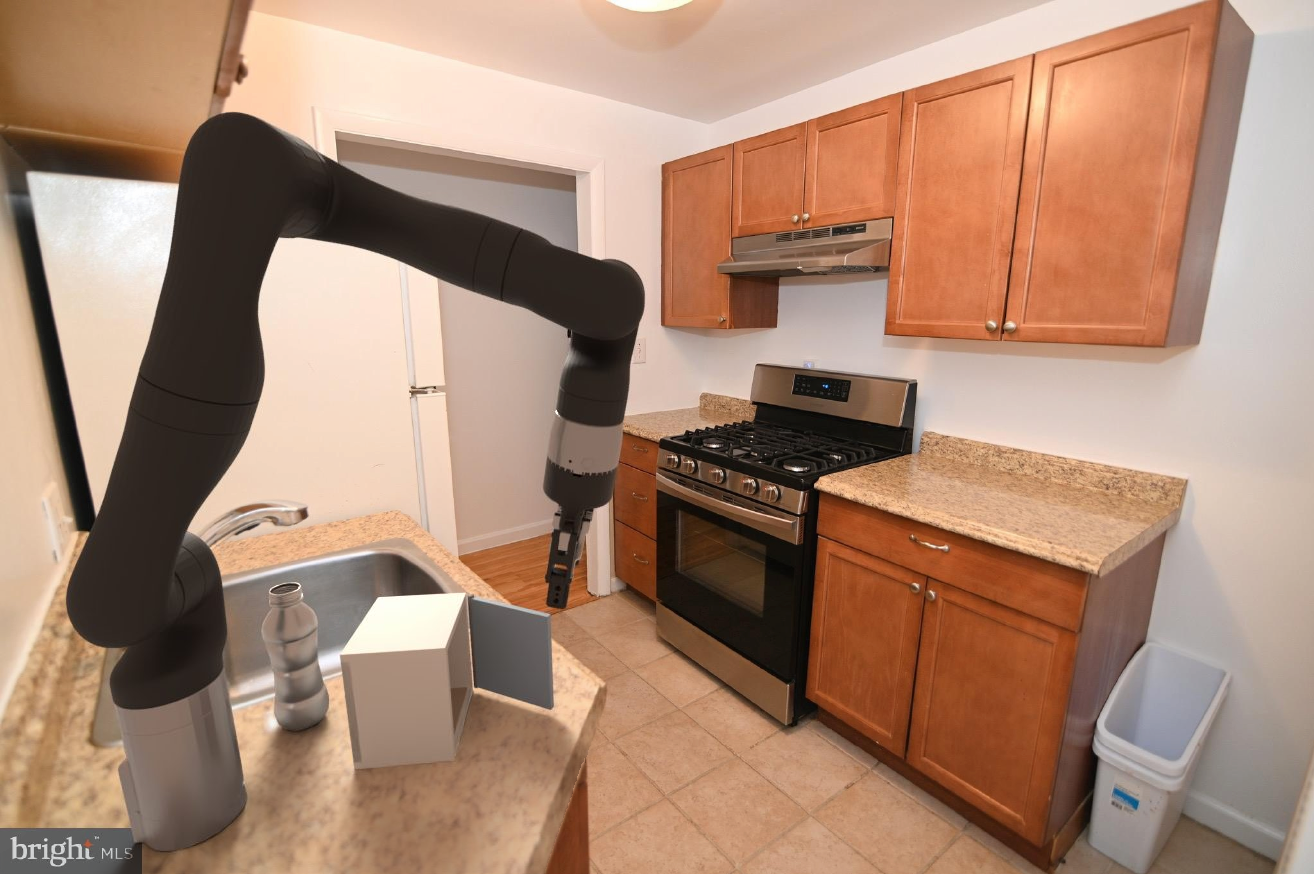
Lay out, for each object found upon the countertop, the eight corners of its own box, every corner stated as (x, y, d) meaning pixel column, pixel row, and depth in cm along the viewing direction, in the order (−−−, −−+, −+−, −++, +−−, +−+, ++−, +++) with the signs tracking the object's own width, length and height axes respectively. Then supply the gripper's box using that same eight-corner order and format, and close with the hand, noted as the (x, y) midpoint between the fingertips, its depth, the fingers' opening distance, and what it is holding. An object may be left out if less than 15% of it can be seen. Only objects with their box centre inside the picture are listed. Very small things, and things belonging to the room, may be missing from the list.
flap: (550, 711, 83) (547, 615, 80) (472, 687, 88) (466, 596, 85) (554, 707, 84) (550, 612, 80) (476, 683, 89) (470, 593, 86)
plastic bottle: (300, 743, 78) (279, 605, 73) (265, 729, 80) (242, 594, 76) (342, 712, 84) (325, 582, 79) (308, 700, 86) (289, 573, 82)
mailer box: (354, 769, 74) (339, 654, 70) (389, 696, 87) (378, 597, 84) (454, 760, 75) (444, 648, 72) (473, 690, 89) (466, 592, 85)
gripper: (560, 426, 69) (543, 546, 75) (533, 475, 56) (515, 616, 61) (624, 438, 69) (602, 556, 75) (612, 489, 56) (586, 629, 61)
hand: (563, 583), depth 68 cm, fingers open, 8 cm apart
